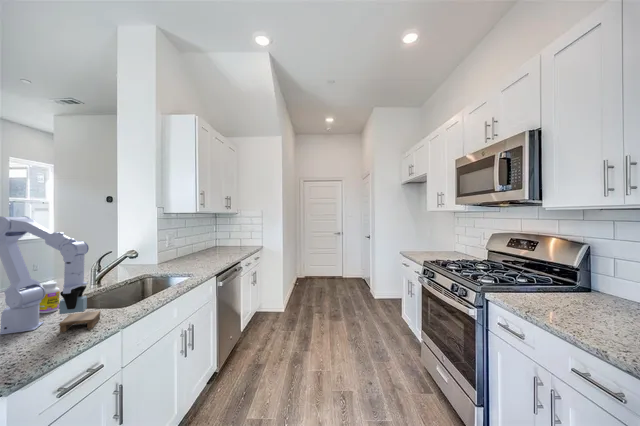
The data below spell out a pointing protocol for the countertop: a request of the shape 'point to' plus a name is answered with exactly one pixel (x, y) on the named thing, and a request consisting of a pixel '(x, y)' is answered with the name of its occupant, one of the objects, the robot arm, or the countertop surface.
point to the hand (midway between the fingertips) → (73, 307)
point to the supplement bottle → (50, 298)
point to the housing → (80, 307)
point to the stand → (80, 320)
